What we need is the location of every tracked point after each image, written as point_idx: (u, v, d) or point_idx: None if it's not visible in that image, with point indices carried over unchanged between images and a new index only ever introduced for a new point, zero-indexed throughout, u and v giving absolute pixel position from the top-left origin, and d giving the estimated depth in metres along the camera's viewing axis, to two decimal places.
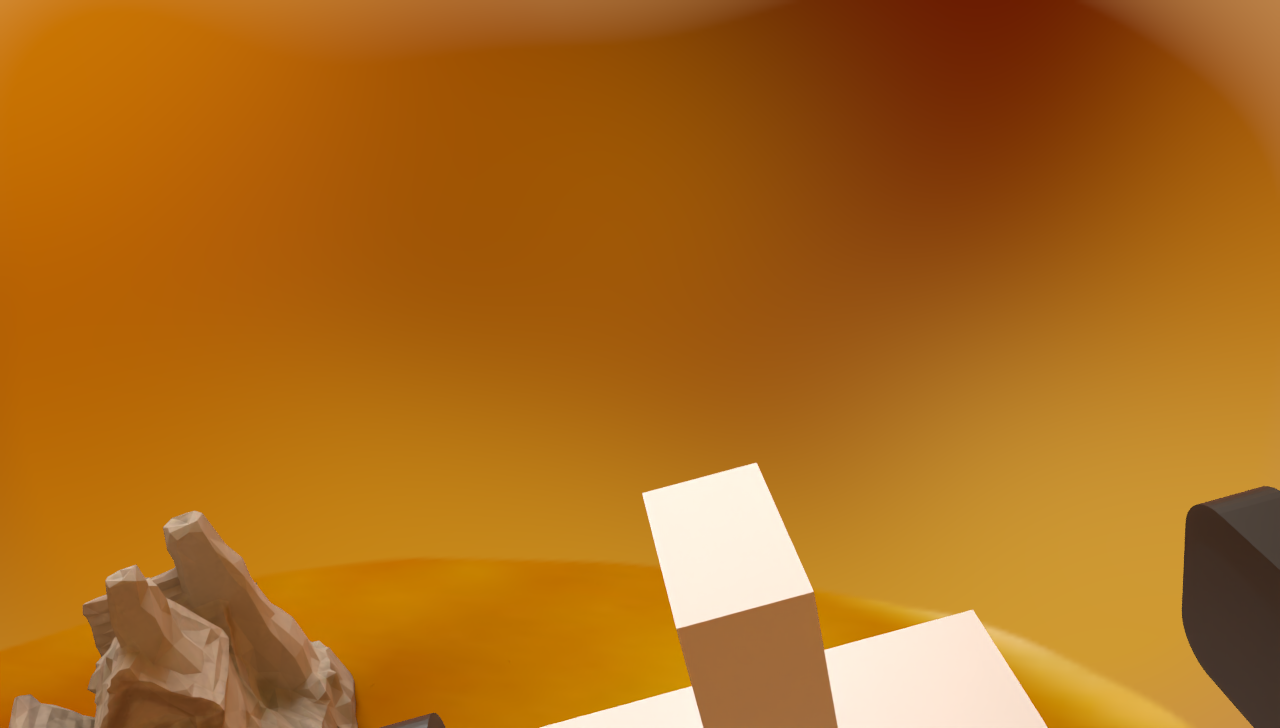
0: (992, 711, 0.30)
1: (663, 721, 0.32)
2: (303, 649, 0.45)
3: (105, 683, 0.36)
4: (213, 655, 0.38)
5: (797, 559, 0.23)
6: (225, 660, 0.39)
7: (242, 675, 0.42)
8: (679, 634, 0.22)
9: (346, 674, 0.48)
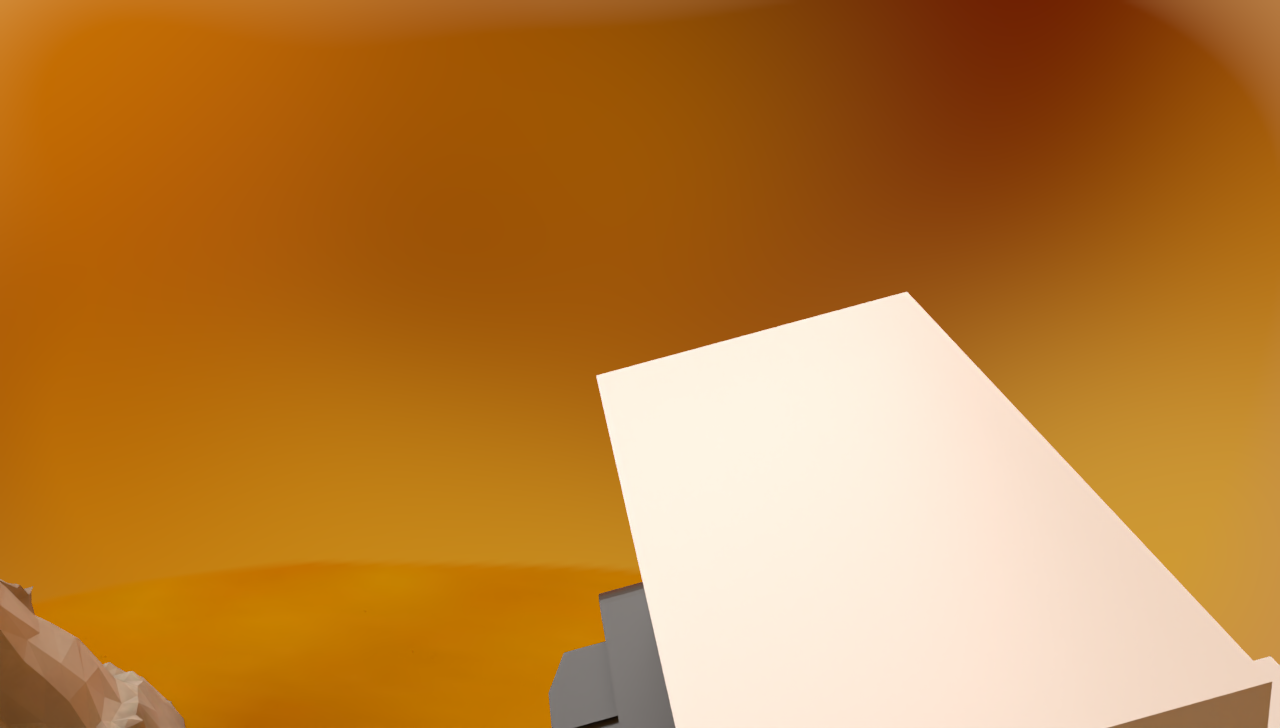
0: None
1: None
2: (87, 686, 0.30)
3: None
4: None
5: (1142, 550, 0.06)
6: None
7: None
8: None
9: (171, 720, 0.33)
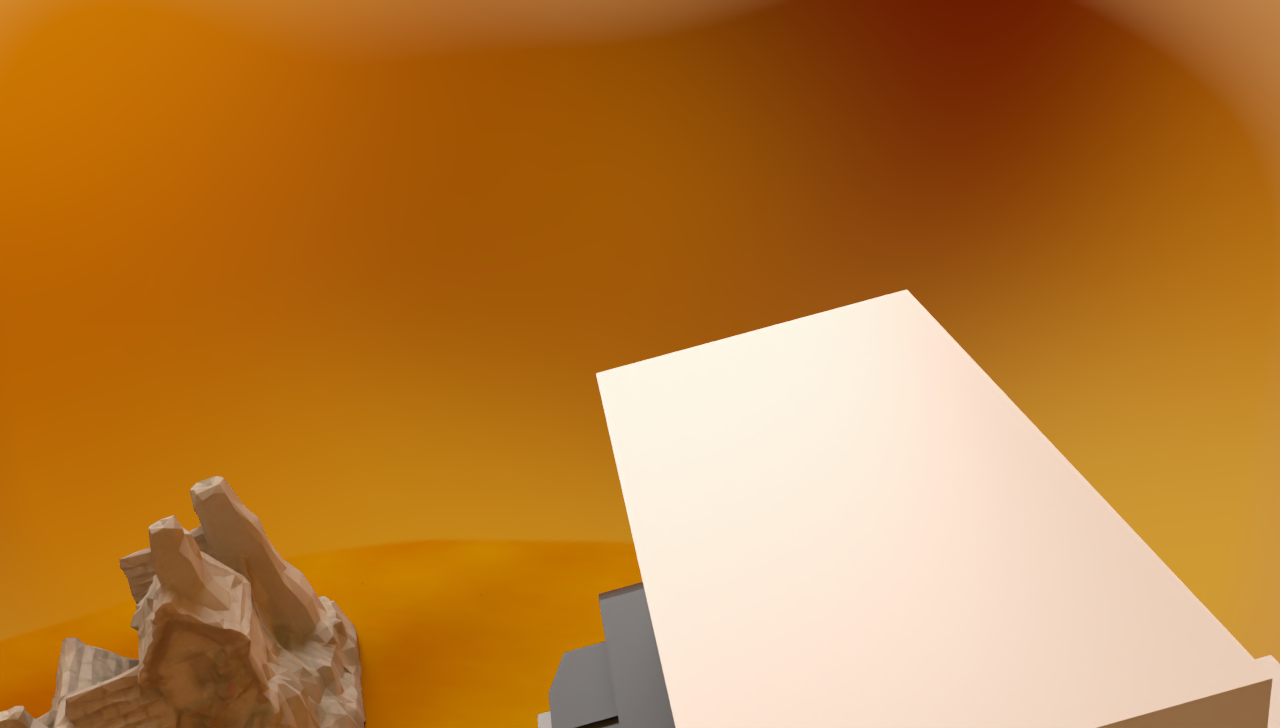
0: None
1: None
2: (312, 600, 0.51)
3: (147, 619, 0.42)
4: (238, 596, 0.44)
5: (1142, 547, 0.06)
6: (248, 601, 0.45)
7: (261, 619, 0.48)
8: None
9: (349, 624, 0.54)
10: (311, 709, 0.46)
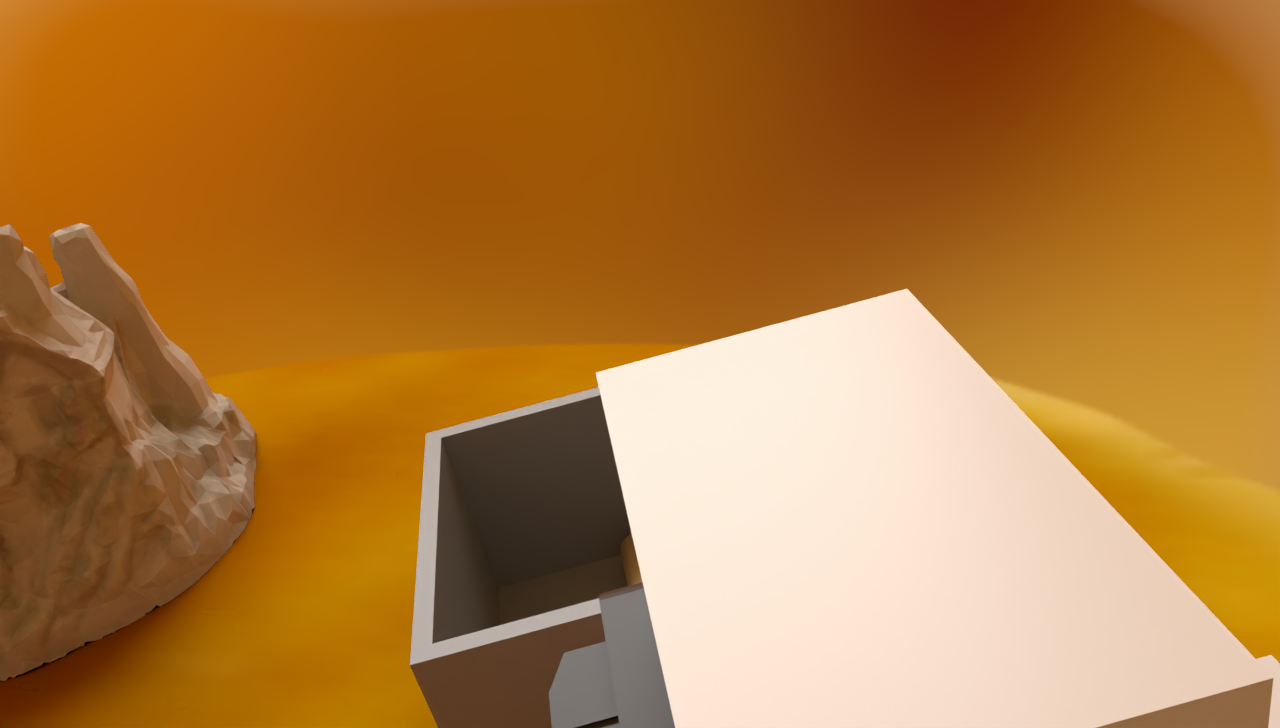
0: None
1: None
2: (199, 382, 0.46)
3: None
4: (95, 339, 0.39)
5: (1142, 546, 0.06)
6: (109, 347, 0.39)
7: (132, 385, 0.42)
8: None
9: (247, 424, 0.49)
10: (186, 480, 0.41)
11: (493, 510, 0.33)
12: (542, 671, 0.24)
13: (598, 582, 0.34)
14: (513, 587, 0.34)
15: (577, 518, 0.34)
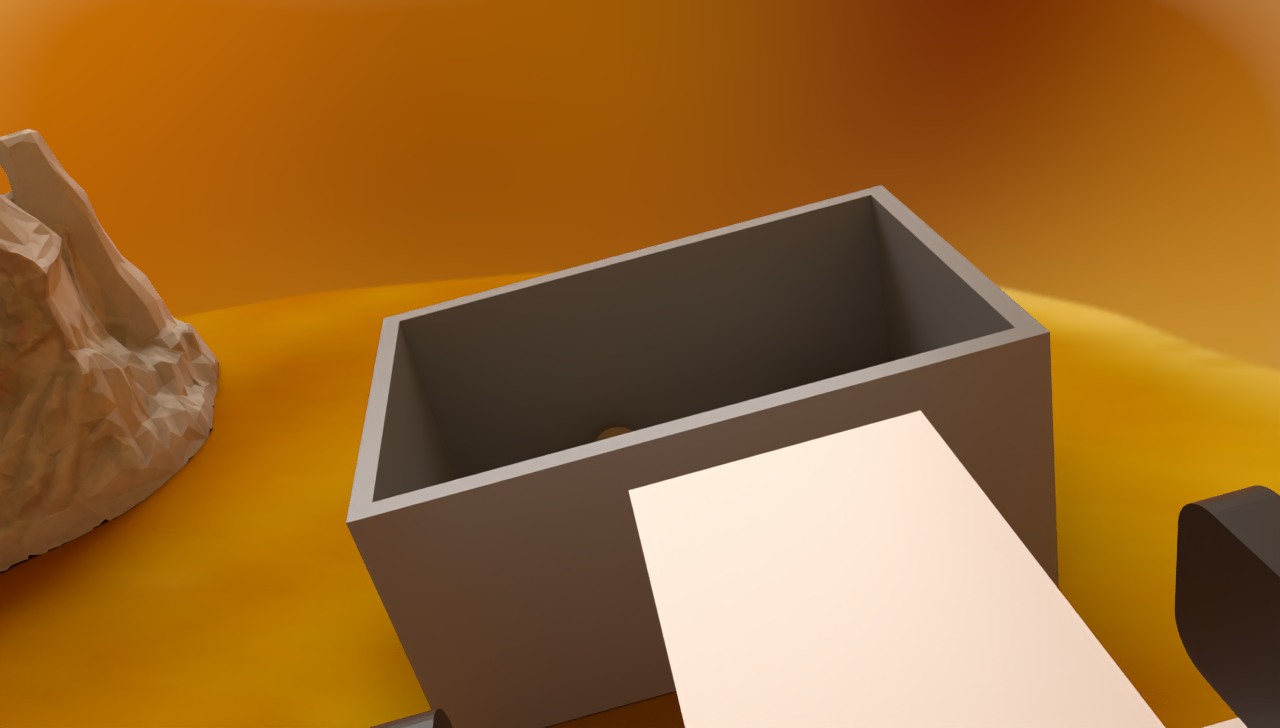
0: None
1: None
2: (156, 302, 0.44)
3: None
4: (40, 241, 0.37)
5: (1142, 706, 0.07)
6: (55, 250, 0.38)
7: (83, 297, 0.41)
8: None
9: (209, 351, 0.47)
10: (138, 393, 0.39)
11: (457, 404, 0.31)
12: (494, 534, 0.22)
13: None
14: None
15: (548, 416, 0.31)
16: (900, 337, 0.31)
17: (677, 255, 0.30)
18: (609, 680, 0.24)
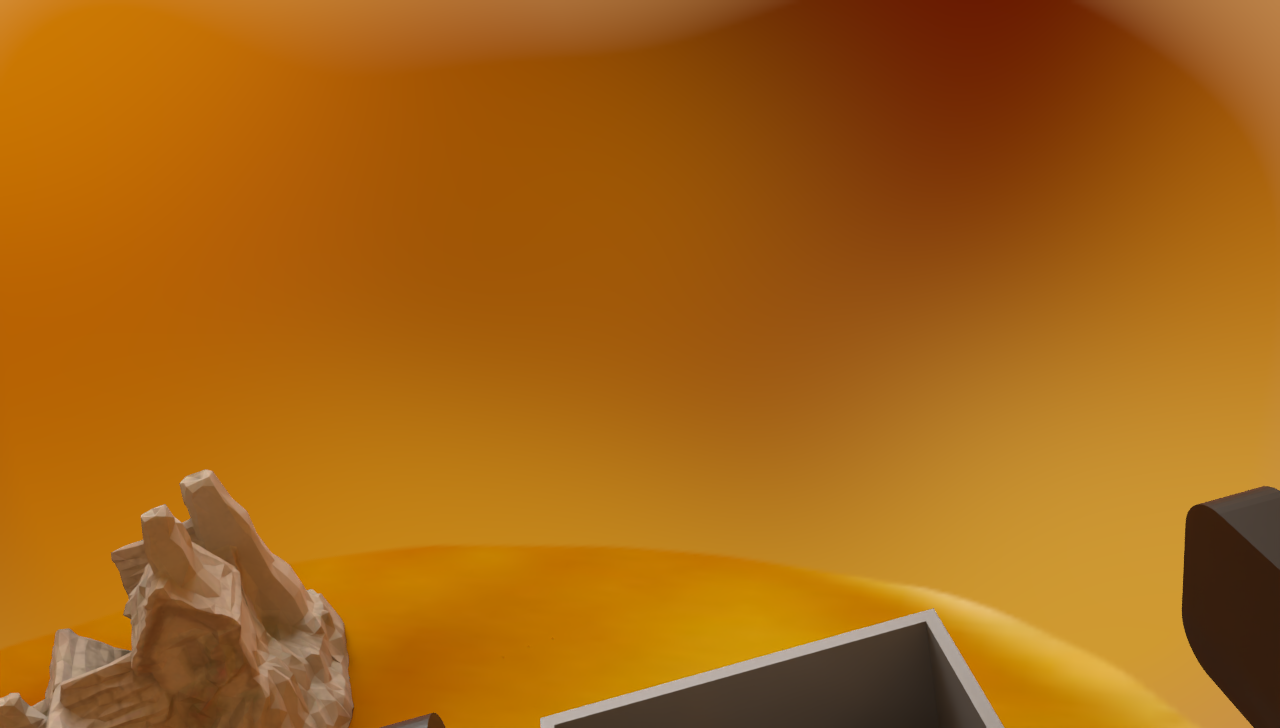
0: None
1: None
2: (300, 591, 0.53)
3: (140, 606, 0.43)
4: (228, 585, 0.46)
5: None
6: (238, 589, 0.46)
7: (250, 608, 0.49)
8: None
9: (337, 616, 0.56)
10: (300, 695, 0.48)
11: None
12: None
13: None
14: None
15: None
16: (948, 724, 0.38)
17: (772, 669, 0.37)
18: None
